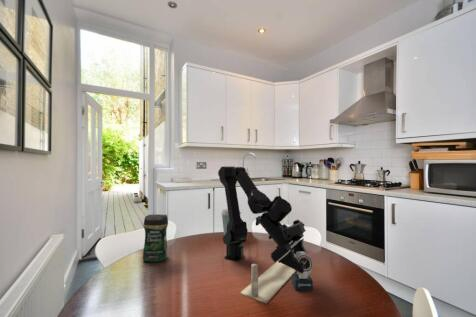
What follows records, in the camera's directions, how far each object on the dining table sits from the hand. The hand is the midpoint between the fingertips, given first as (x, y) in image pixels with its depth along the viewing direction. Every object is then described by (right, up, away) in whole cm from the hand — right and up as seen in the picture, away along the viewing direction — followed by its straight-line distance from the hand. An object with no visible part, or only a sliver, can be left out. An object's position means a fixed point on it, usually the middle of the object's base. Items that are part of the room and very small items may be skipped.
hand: (306, 267), depth 75 cm
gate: (-10, -7, +6) cm, 13 cm away
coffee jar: (-57, -7, +23) cm, 61 cm away
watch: (-1, -7, +1) cm, 7 cm away
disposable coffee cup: (-26, -8, +52) cm, 59 cm away
